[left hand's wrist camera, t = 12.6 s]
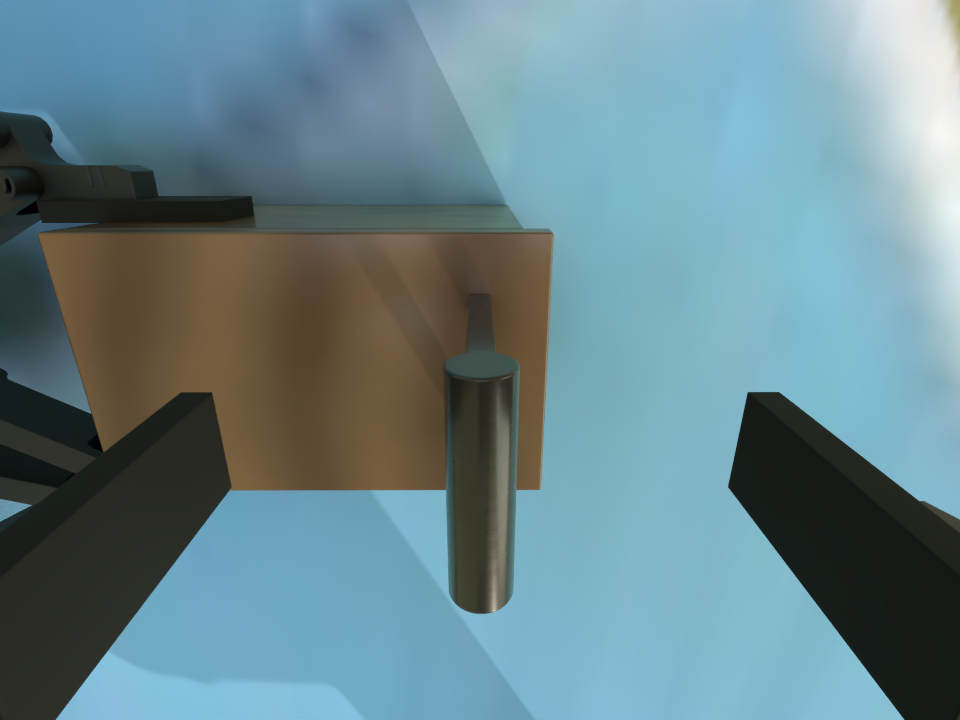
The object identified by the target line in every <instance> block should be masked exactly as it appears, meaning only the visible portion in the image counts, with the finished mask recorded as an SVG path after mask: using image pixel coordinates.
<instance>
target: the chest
mask: <svg viewBox="0 0 960 720" xmlns="http://www.w3.org/2000/svg"><path fill="white" fill-rule="evenodd" d="M253 209H254V215H252V216H248V217H243V218H239V219H235V220H230V221H226V222H104V223H97V224H91V225H85V226H78V227H72V228H67V229H523V228H522V226H521V225H520V223H519V222H518V220H517V219H516V217H515V216H514V214H513V213H512V211H511V210H510V208H509V207H508V206H507V205H253Z"/></svg>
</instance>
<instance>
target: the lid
mask: <svg viewBox="0 0 960 720" xmlns="http://www.w3.org/2000/svg"><path fill="white" fill-rule="evenodd" d="M38 237H39V240H40V244H41V247H42V250H43V254H44V257H45V260H46V263H47V267H48V270H49V273H50V277H51V280H52V283H53V287H54V290H55V293H56V297H57V300H58V303H59V307H60V310H61V313H62V317H63V320H64V323H65V327H66V330H67V333H68V337H69V340H70V343H71V346H72V350H73V353H74V356H75V360H76V363H77V366H78V370H79V373H80V376H81V380H82V383H83V386H84V390H85V393H86V396H87V400H88V403H89V406H90V410H91V413H92V416H93V419H94V423H95V426H96V429H97V433H98V436H99V439H100V443H101V446H102V449H103V452H105V451H106V450H107V449H109V448H110V447H111V446H112V445H114V444H115V443H116V442H118V441H119V440H120V439H121V438H123V437H124V436H125V435H127V434H128V433H129V432H130V431H132V430H133V429H134V428H136V427H137V426H138V425H139V424H141V423H142V422H143V421H145V420H146V419H147V418H148V417H150V416H151V415H152V414H154V413H155V412H156V411H157V410H159V409H160V408H161V407H163V406H164V405H165V404H166V403H168V402H169V401H170V400H172V399H173V398H174V397H175V396H177V395H178V394H179V393H181V392H212V394H213V399H214V404H215V408H216V413H217V418H218V423H219V428H220V432H221V437H222V442H223V447H224V452H225V456H226V461H227V466H228V471H229V476H230V480H231V485H232V488H231V489H230V490H446V506H447V542H448V577H449V593H450V596H451V598H452V600H453V601H454V602H455V604H456V605H457V606H459V607H460V608H461V609H463V610H465V611H468V612H471V613H476V614H486V613H491V612H495V611H497V610H499V609H501V608H502V607H504V606H505V605H506V604H507V603H508V601H509V600H510V598H511V596H512V593H513V580H514V546H515V512H516V490H540V488H541V475H542V455H543V435H544V415H545V395H546V375H547V355H548V335H549V315H550V295H551V275H552V255H553V233H552V232H551V231H550V230H549V229H59V230H53V231H46V232H40V233H38Z"/></svg>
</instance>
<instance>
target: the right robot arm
mask: <svg viewBox="0 0 960 720" xmlns="http://www.w3.org/2000/svg"><path fill="white" fill-rule="evenodd" d="M52 136H53V135H52V131H51V128H50V127H49V125H48V124H47V123H46V122H45V121H44V120H43V119H42V118H40V117H37V116H35V115H27V114H18V113H8V112H0V246H1V245H2V244H4V243H5V242H7V241H8V240H10V239H11V238H13V237H15V236H16V235H18V234H19V233H21V232H22V231H24V230H25V229H27V228H28V227H30V226H32V225H33V224H35V223H36V222H38V221H39V220H42V223H104V222H226V221H230V220H235V219H239V218H243V217H248V216H252V215H254V209H253V202H252V196H158V192H157V188H156V183H155V178H154V174H153V171H151V170H149V169H146V168H144V167H141V166H78V165H72V164H69V163H67V162H65V161H64V160H62V159H61V158H60V157H59V156H58V155H57V154H56V152H55V151H54V149H53V148H52V146H51V142H52ZM7 375H8V373H7V372H6V371H5V370H3V369H1V368H0V499H4V500H9V501H15V502H20V503H25V504H30V505H34V504H36V503H39V502H40V501H42V500H43V499H44V498H46V497H47V496H48V495H49V494H51V493H52V492H53V491H55V490H56V489H57V488H58V487H60V486H61V485H62V484H64V483H65V482H66V481H67V480H69V479H70V478H71V477H73V476H74V475H75V474H76V473H78V472H79V471H80V470H82V469H83V468H84V467H85V466H87V465H88V464H89V463H91V462H92V461H93V460H94V459H96V458H97V457H98V456H100V455H101V454H102V453H103V449H102V446H101V443H100V439H99V436H98V433H97V429H96V426H95V423H94V419H93V416H92V414H90V413H88V412H85V411H83V410H80V409H78V408H75V407H73V406H71V405H68V404H66V403H63V402H61V401H59V400H56V399H54V398H51V397H49V396H46V395H44V394H42V393H39V392H37V391H34V390H32V389H30V388H27V387H25V386H22V385H20V384H17V383H15V382H13V381H10V380H8V379H7Z"/></svg>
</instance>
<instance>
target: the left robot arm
mask: <svg viewBox="0 0 960 720" xmlns="http://www.w3.org/2000/svg"><path fill="white" fill-rule="evenodd" d="M231 488H232V485H231V480H230V476H229V471H228V466H227V461H226V456H225V452H224V447H223V442H222V437H221V432H220V428H219V423H218V418H217V413H216V408H215V404H214V399H213V394H212V392H181V393H179V394H178V395H177V396H175V397H174V398H173V399H172V400H170V401H169V402H168V403H166V404H165V405H164V406H163V407H161V408H160V409H159V410H157V411H156V412H155V413H154V414H152V415H151V416H150V417H148V418H147V419H146V420H145V421H143V422H142V423H141V424H139V425H138V426H137V427H136V428H134V429H133V430H132V431H130V432H129V433H128V434H127V435H125V436H124V437H123V438H121V439H120V440H119V441H118V442H116V443H115V444H114V445H112V446H111V447H110V448H109V449H107V450H106V451H105V452H103V453H102V454H101V455H100V456H98V457H97V458H96V459H94V460H93V461H92V462H91V463H89V464H88V465H87V466H85V467H84V468H83V469H82V470H80V471H79V472H78V473H76V474H75V475H74V476H73V477H71V478H70V479H69V480H67V481H66V482H65V483H64V484H62V485H61V486H60V487H58V488H57V489H56V490H55V491H53V492H52V493H51V494H49V495H48V496H47V497H46V498H44V499H43V500H42V501H40V502H39V503H36V504H34V505H32V506H30V507H28V508H26V509H24V510H22V511H20V512H18V513H16V514H15V515H13V516H11V517H9V518H7V519H5V520H3V521H1V522H0V720H56V718H57V717H58V716H59V714H60V713H61V712H62V710H63V709H64V708H65V707H66V705H67V704H68V703H69V701H70V700H71V699H72V697H73V696H74V695H75V693H76V692H77V691H78V689H79V688H80V687H81V685H82V684H83V683H84V681H85V680H86V679H87V678H88V676H89V675H90V674H91V672H92V671H93V670H94V668H95V667H96V666H97V664H98V663H99V662H100V660H101V659H102V658H103V656H104V655H105V654H106V652H107V651H108V650H109V648H110V647H111V646H112V645H113V643H114V642H115V641H116V639H117V638H118V637H119V635H120V634H121V633H122V631H123V630H124V629H125V627H126V626H127V625H128V623H129V622H130V621H131V619H132V618H133V617H134V615H135V614H136V613H137V612H138V610H139V609H140V608H141V606H142V605H143V604H144V602H145V601H146V600H147V598H148V597H149V596H150V594H151V593H152V592H153V590H154V589H155V588H156V586H157V585H158V584H159V583H160V581H161V580H162V579H163V577H164V576H165V575H166V573H167V572H168V571H169V569H170V568H171V567H172V565H173V564H174V563H175V561H176V560H177V559H178V557H179V556H180V555H181V553H182V552H183V551H184V550H185V548H186V547H187V546H188V544H189V543H190V542H191V540H192V539H193V538H194V536H195V535H196V534H197V532H198V531H199V530H200V528H201V527H202V526H203V524H204V523H205V522H206V520H207V519H208V518H209V517H210V515H211V514H212V513H213V511H214V510H215V509H216V507H217V506H218V505H219V503H220V502H221V501H222V499H223V498H224V497H225V495H226V494H227V493H228V491H229V490H230V489H231ZM728 488H729V489H730V490H731V491H732V493H733V494H734V495H735V497H736V498H737V499H738V501H739V502H740V503H741V505H742V506H743V507H744V509H745V510H746V511H747V513H748V514H749V515H750V517H751V518H752V519H753V520H754V522H755V523H756V524H757V526H758V527H759V528H760V530H761V531H762V532H763V534H764V535H765V536H766V538H767V539H768V540H769V542H770V543H771V544H772V546H773V547H774V548H775V550H776V551H777V552H778V553H779V555H780V556H781V557H782V559H783V560H784V561H785V563H786V564H787V565H788V567H789V568H790V569H791V571H792V572H793V573H794V575H795V576H796V577H797V579H798V580H799V581H800V583H801V584H802V585H803V586H804V588H805V589H806V590H807V592H808V593H809V594H810V596H811V597H812V598H813V600H814V601H815V602H816V604H817V605H818V606H819V608H820V609H821V610H822V612H823V613H824V614H825V615H826V617H827V618H828V619H829V621H830V622H831V623H832V625H833V626H834V627H835V629H836V630H837V631H838V633H839V634H840V635H841V637H842V638H843V639H844V641H845V642H846V643H847V645H848V646H849V647H850V648H851V650H852V651H853V652H854V654H855V655H856V656H857V658H858V659H859V660H860V662H861V663H862V664H863V666H864V667H865V668H866V670H867V671H868V672H869V674H870V675H871V676H872V678H873V679H874V680H875V681H876V683H877V684H878V685H879V687H880V688H881V689H882V691H883V692H884V693H885V695H886V696H887V697H888V699H889V700H890V701H891V703H892V704H893V705H894V707H895V708H896V709H897V710H898V712H899V713H900V714H901V716H902V717H903V718H904V720H960V520H959V519H958V518H956V517H954V516H952V515H950V514H948V513H946V512H944V511H942V510H940V509H938V508H936V507H934V506H932V505H930V504H928V503H927V502H925V501H918V500H917V499H916V498H914V497H913V496H912V495H911V494H909V493H908V492H907V491H905V490H904V489H903V488H902V487H900V486H899V485H898V484H896V483H895V482H894V481H893V480H891V479H890V478H889V477H887V476H886V475H885V474H884V473H882V472H881V471H880V470H878V469H877V468H876V467H875V466H873V465H872V464H871V463H869V462H868V461H867V460H866V459H864V458H863V457H862V456H860V455H859V454H858V453H857V452H855V451H854V450H853V449H851V448H850V447H849V446H848V445H846V444H845V443H844V442H842V441H841V440H840V439H839V438H837V437H836V436H835V435H833V434H832V433H831V432H830V431H828V430H827V429H826V428H824V427H823V426H822V425H821V424H819V423H818V422H817V421H815V420H814V419H813V418H812V417H810V416H809V415H808V414H806V413H805V412H804V411H803V410H801V409H800V408H799V407H797V406H796V405H795V404H794V403H792V402H791V401H790V400H788V399H787V398H786V397H785V396H783V395H782V394H781V393H779V392H748V394H747V399H746V404H745V408H744V413H743V418H742V423H741V428H740V432H739V437H738V442H737V447H736V452H735V456H734V461H733V466H732V471H731V476H730V480H729V485H728Z"/></svg>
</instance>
